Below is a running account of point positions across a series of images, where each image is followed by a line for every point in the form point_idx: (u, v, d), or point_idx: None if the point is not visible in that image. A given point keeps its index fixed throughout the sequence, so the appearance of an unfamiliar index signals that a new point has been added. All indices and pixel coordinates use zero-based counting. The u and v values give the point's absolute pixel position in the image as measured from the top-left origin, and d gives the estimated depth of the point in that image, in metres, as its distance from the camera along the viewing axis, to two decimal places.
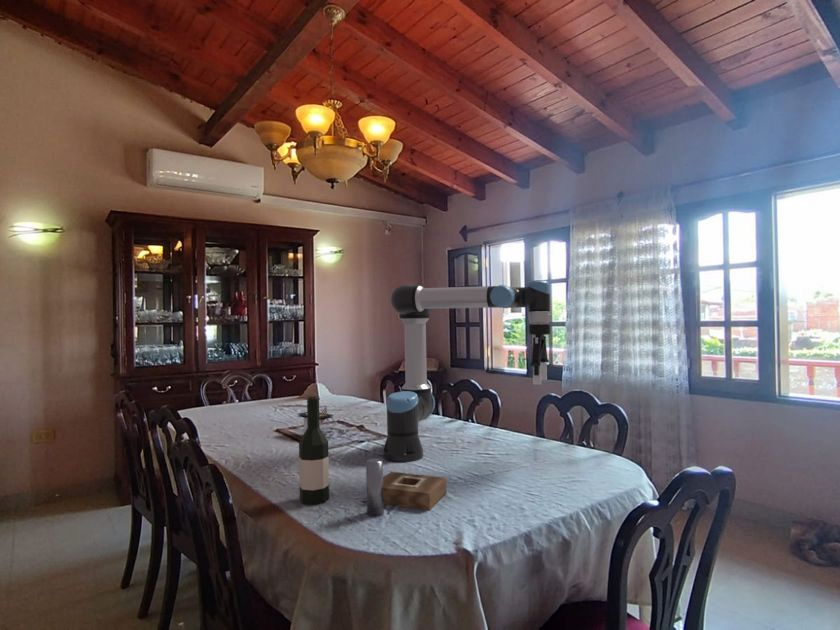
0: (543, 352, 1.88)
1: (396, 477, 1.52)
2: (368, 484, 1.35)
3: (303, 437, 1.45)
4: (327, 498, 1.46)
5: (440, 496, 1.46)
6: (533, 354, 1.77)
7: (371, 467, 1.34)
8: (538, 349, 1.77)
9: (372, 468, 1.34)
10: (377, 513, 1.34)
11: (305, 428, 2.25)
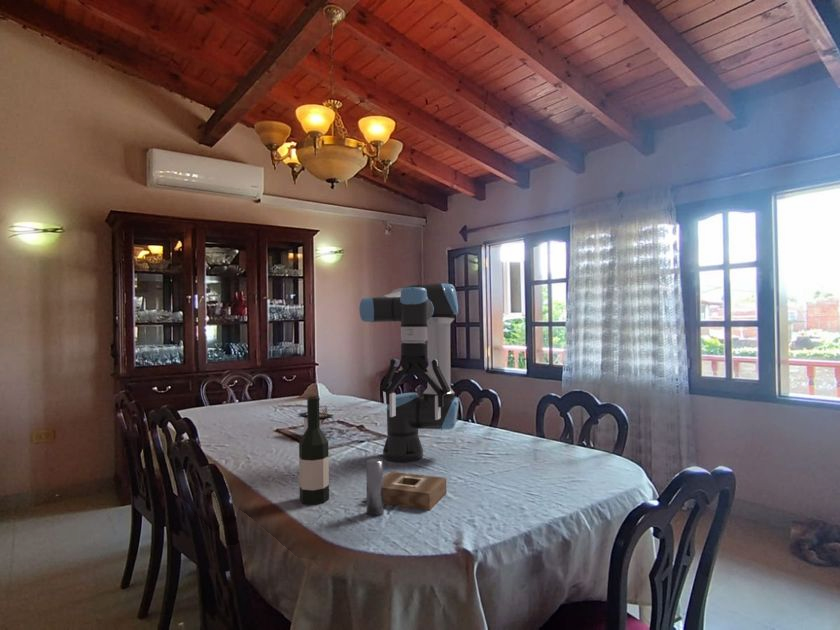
0: None
1: (396, 477, 1.52)
2: (368, 484, 1.35)
3: (303, 437, 1.45)
4: (327, 498, 1.46)
5: (440, 496, 1.46)
6: None
7: (371, 467, 1.34)
8: None
9: (372, 468, 1.34)
10: (377, 513, 1.34)
11: (305, 428, 2.25)
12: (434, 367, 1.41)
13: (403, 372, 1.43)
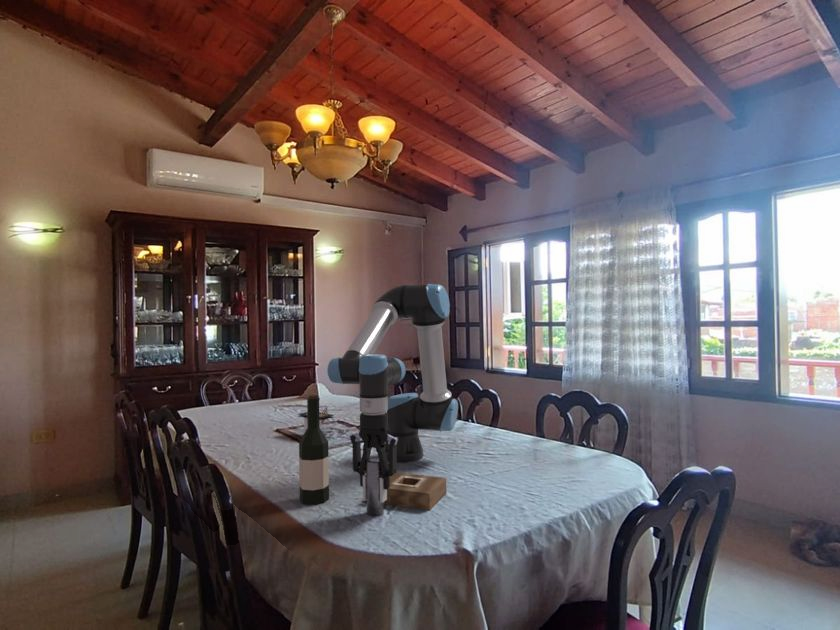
0: None
1: (396, 477, 1.52)
2: (368, 484, 1.35)
3: (303, 437, 1.45)
4: (327, 498, 1.46)
5: (440, 496, 1.46)
6: None
7: (371, 467, 1.34)
8: None
9: (372, 468, 1.34)
10: (377, 513, 1.34)
11: (306, 428, 2.25)
12: (390, 446, 1.33)
13: (366, 446, 1.35)
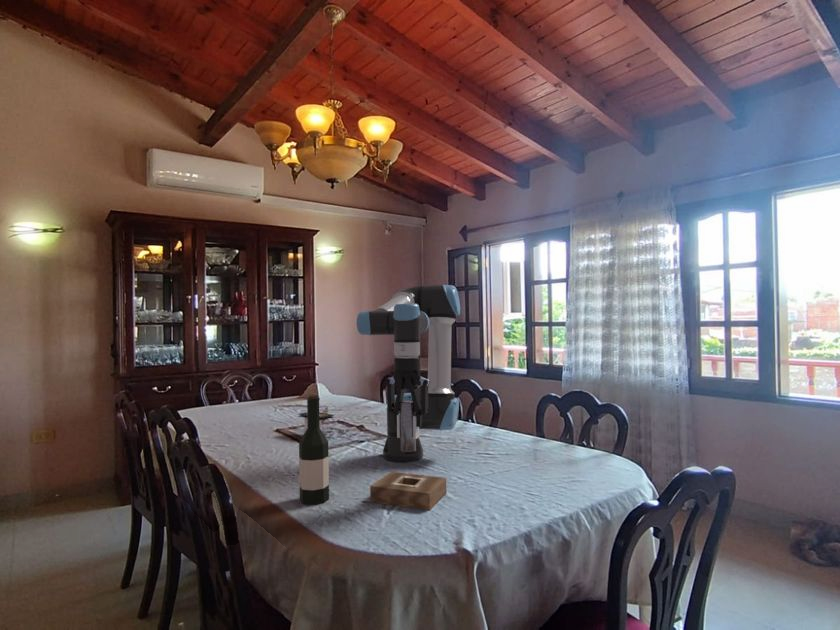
0: None
1: (396, 477, 1.52)
2: (402, 423, 1.46)
3: (303, 437, 1.45)
4: (327, 498, 1.46)
5: (440, 496, 1.46)
6: None
7: (405, 407, 1.45)
8: None
9: (406, 407, 1.45)
10: (411, 449, 1.46)
11: (306, 428, 2.25)
12: (423, 386, 1.44)
13: (400, 388, 1.47)
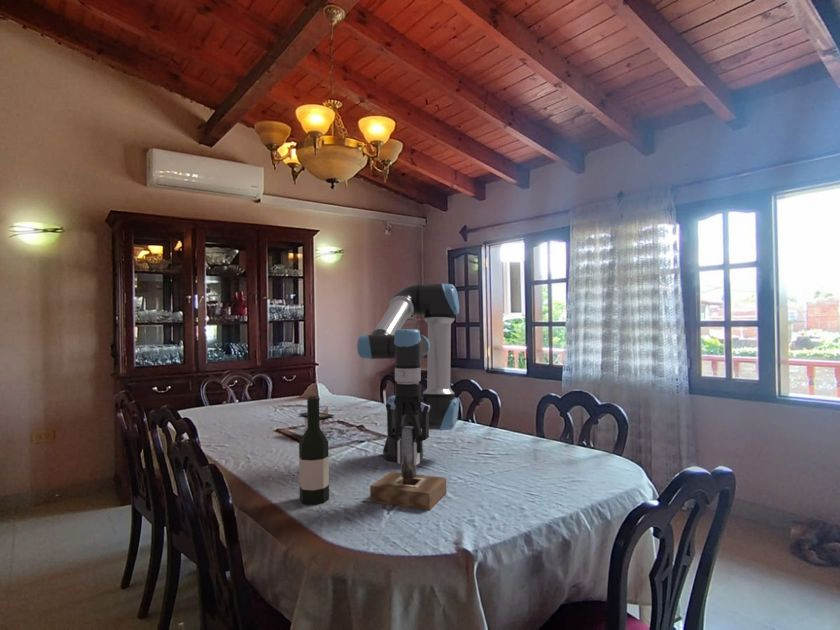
0: None
1: (396, 477, 1.52)
2: (403, 448, 1.46)
3: (303, 437, 1.45)
4: (327, 498, 1.46)
5: (440, 496, 1.46)
6: None
7: (406, 433, 1.45)
8: None
9: (407, 433, 1.45)
10: (411, 475, 1.46)
11: (306, 428, 2.25)
12: (424, 412, 1.44)
13: (400, 413, 1.47)
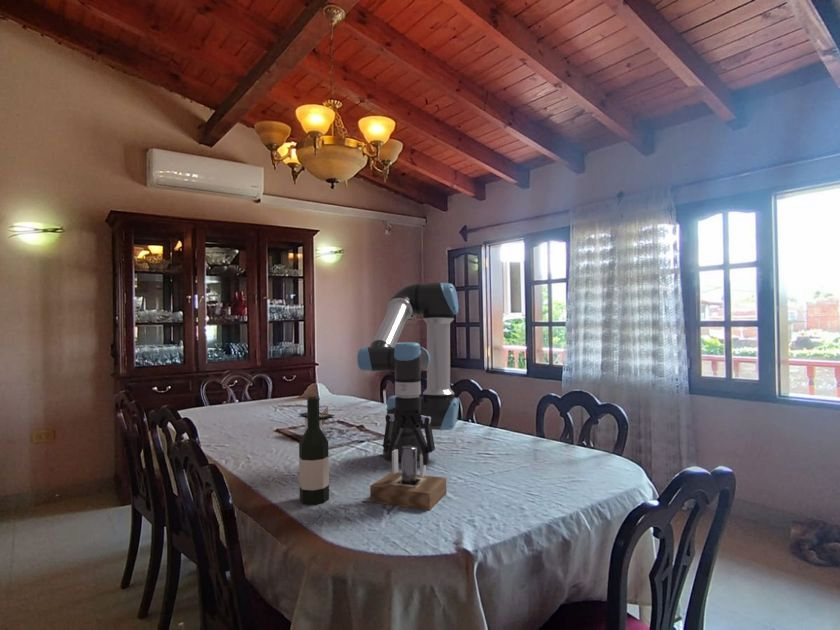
0: None
1: (396, 477, 1.52)
2: (403, 468, 1.46)
3: (303, 437, 1.45)
4: (327, 498, 1.46)
5: (440, 496, 1.46)
6: None
7: (407, 453, 1.45)
8: None
9: (408, 454, 1.45)
10: None
11: (306, 428, 2.25)
12: (425, 424, 1.44)
13: (399, 426, 1.47)
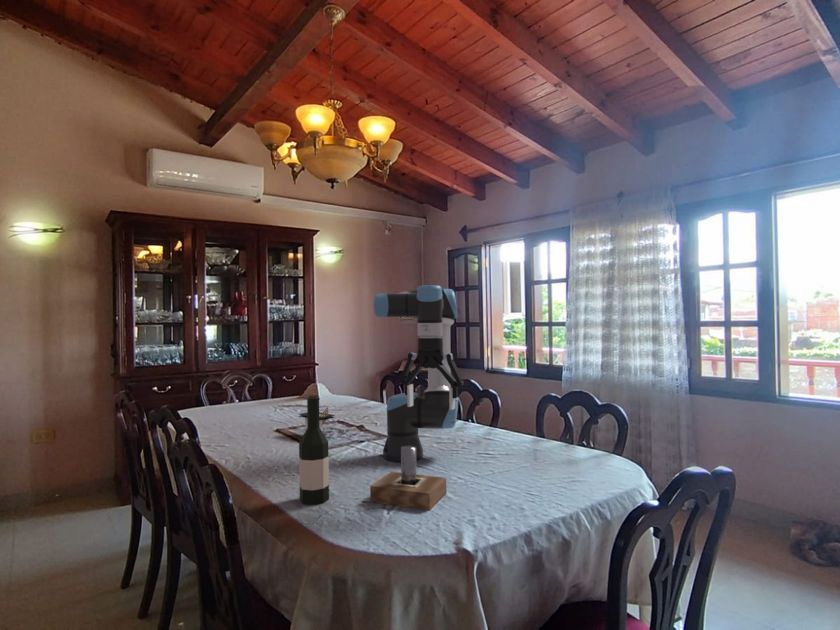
0: None
1: (396, 477, 1.52)
2: (403, 468, 1.46)
3: (303, 437, 1.45)
4: (327, 498, 1.46)
5: (440, 496, 1.46)
6: None
7: (406, 453, 1.46)
8: None
9: (407, 453, 1.46)
10: None
11: (306, 428, 2.25)
12: (448, 361, 1.49)
13: (420, 365, 1.52)
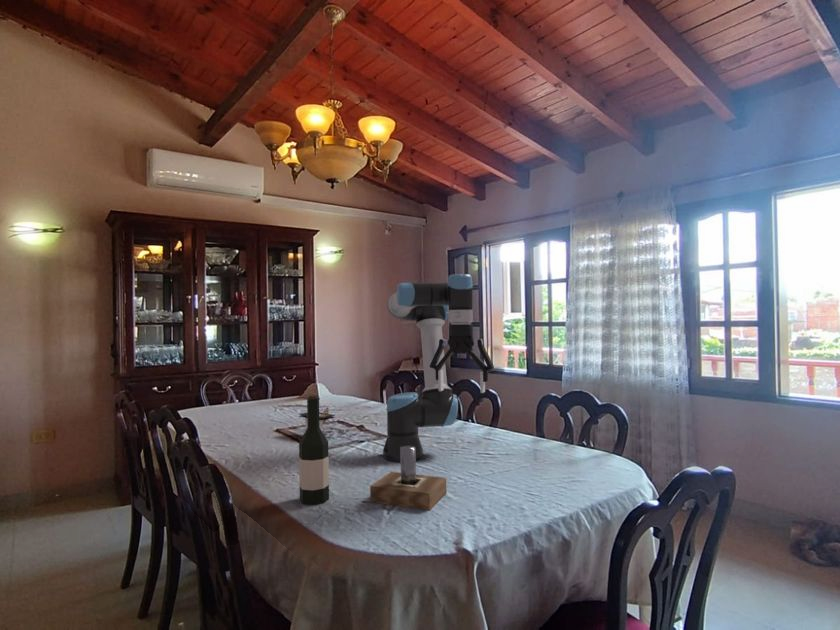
0: None
1: (396, 477, 1.52)
2: (402, 468, 1.46)
3: (303, 437, 1.45)
4: (327, 498, 1.46)
5: (440, 496, 1.46)
6: None
7: (405, 453, 1.45)
8: None
9: (407, 454, 1.45)
10: None
11: None
12: (479, 346, 1.56)
13: (451, 350, 1.59)
